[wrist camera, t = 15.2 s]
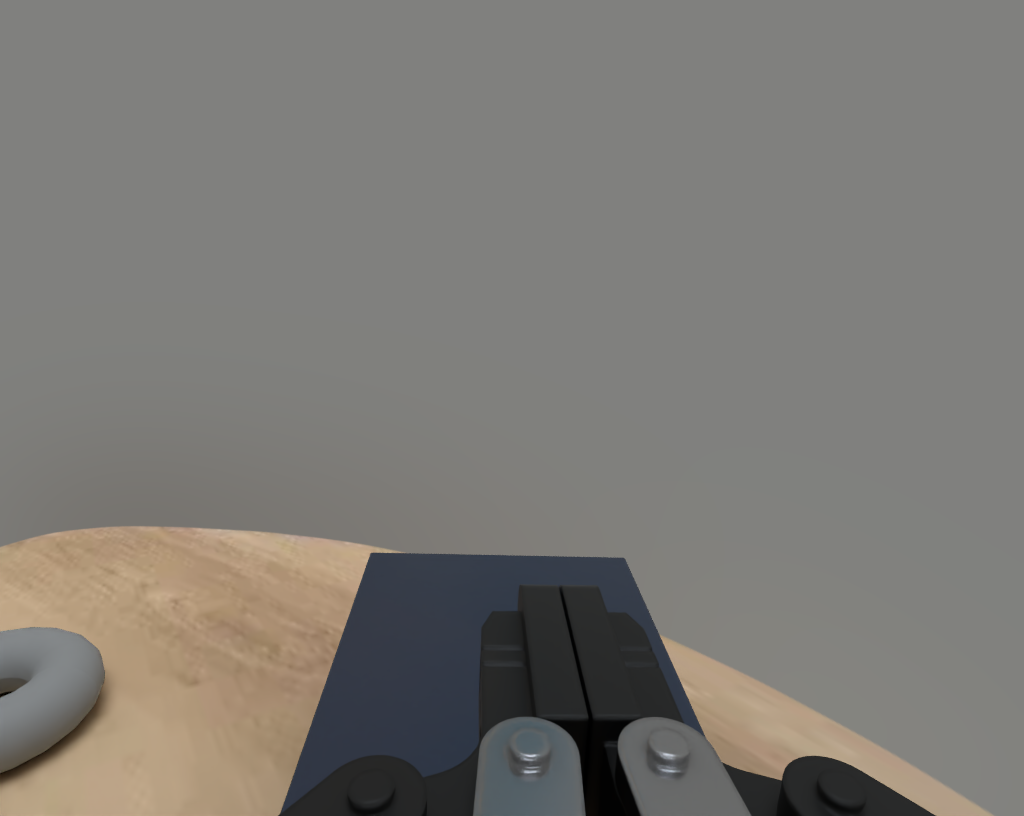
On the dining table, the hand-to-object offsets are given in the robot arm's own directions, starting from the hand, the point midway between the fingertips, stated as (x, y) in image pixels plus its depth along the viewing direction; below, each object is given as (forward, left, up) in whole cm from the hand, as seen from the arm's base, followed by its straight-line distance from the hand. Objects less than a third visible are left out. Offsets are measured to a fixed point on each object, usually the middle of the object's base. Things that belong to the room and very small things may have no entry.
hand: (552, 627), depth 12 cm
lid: (-6, +10, -10) cm, 16 cm away
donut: (-32, +3, -19) cm, 37 cm away
